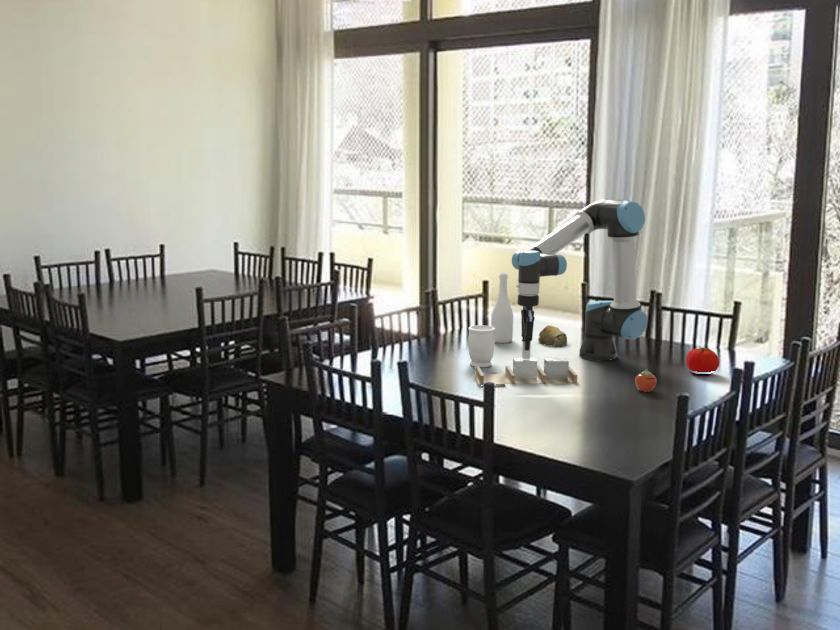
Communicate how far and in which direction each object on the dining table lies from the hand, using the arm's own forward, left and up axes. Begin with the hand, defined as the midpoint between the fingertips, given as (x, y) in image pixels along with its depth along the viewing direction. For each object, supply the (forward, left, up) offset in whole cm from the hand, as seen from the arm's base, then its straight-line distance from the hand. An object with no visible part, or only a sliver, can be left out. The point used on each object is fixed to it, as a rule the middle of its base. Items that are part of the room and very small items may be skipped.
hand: (526, 358), depth 317 cm
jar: (+13, -24, -9) cm, 29 cm away
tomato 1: (-40, +14, -9) cm, 43 cm away
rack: (0, 0, -9) cm, 9 cm away
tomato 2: (-69, -9, -9) cm, 70 cm away
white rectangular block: (0, 0, -7) cm, 7 cm away
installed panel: (-11, 0, -8) cm, 13 cm away
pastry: (-24, -62, -9) cm, 67 cm away
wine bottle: (-2, -67, -9) cm, 68 cm away
